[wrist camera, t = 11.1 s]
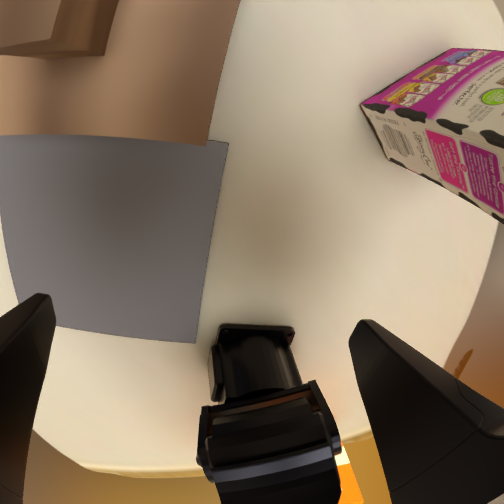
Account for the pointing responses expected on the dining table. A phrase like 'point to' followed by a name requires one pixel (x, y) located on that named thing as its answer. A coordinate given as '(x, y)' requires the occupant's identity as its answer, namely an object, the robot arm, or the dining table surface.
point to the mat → (111, 229)
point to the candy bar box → (448, 124)
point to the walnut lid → (112, 67)
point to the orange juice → (347, 481)
